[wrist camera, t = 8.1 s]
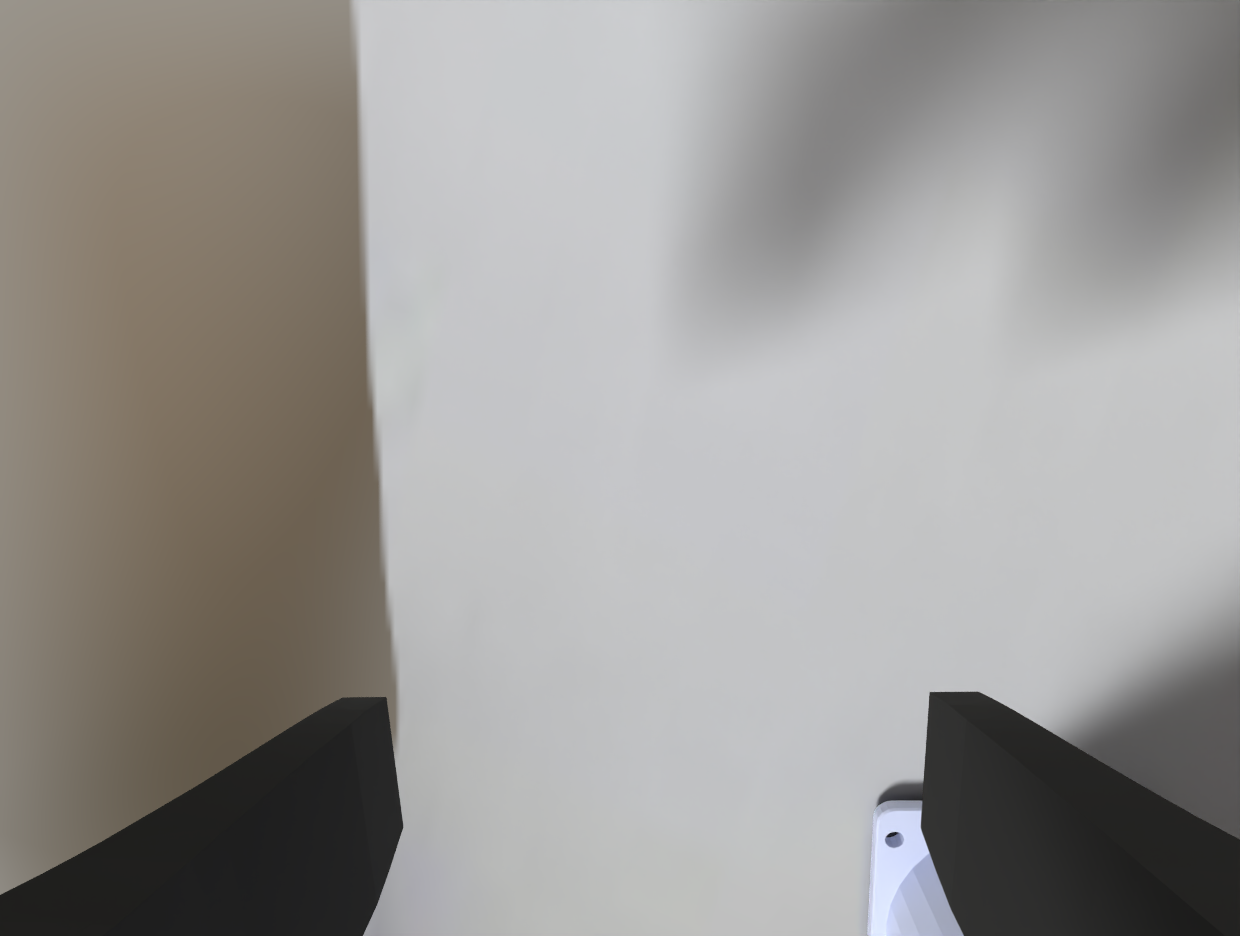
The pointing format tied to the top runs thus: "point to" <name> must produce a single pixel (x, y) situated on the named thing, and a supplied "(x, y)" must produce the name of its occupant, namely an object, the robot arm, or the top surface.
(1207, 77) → the top surface
